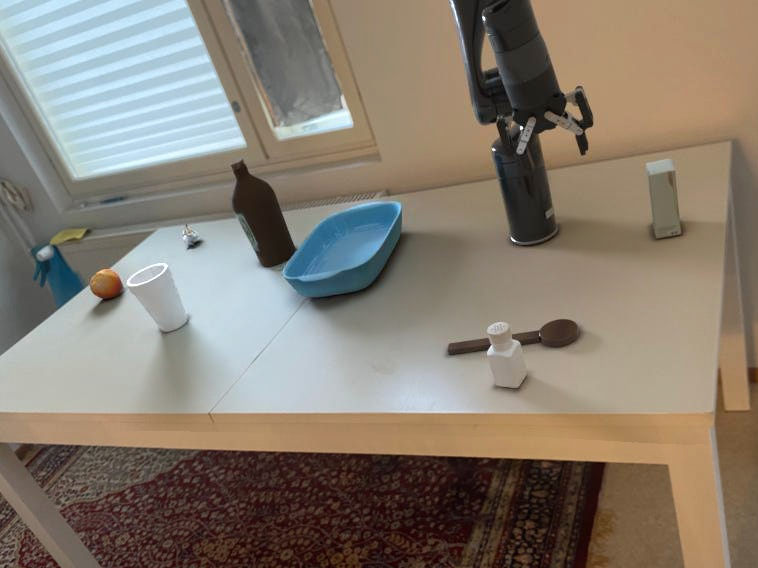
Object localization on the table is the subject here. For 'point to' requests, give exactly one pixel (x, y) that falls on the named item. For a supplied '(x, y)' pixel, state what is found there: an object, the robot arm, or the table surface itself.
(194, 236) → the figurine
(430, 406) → the table surface
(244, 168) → the olive oil
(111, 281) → the fruit
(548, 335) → the wooden spoon
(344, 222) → the casserole dish
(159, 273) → the foam cup
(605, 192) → the table surface
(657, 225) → the cosmetic box
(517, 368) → the salt shaker
